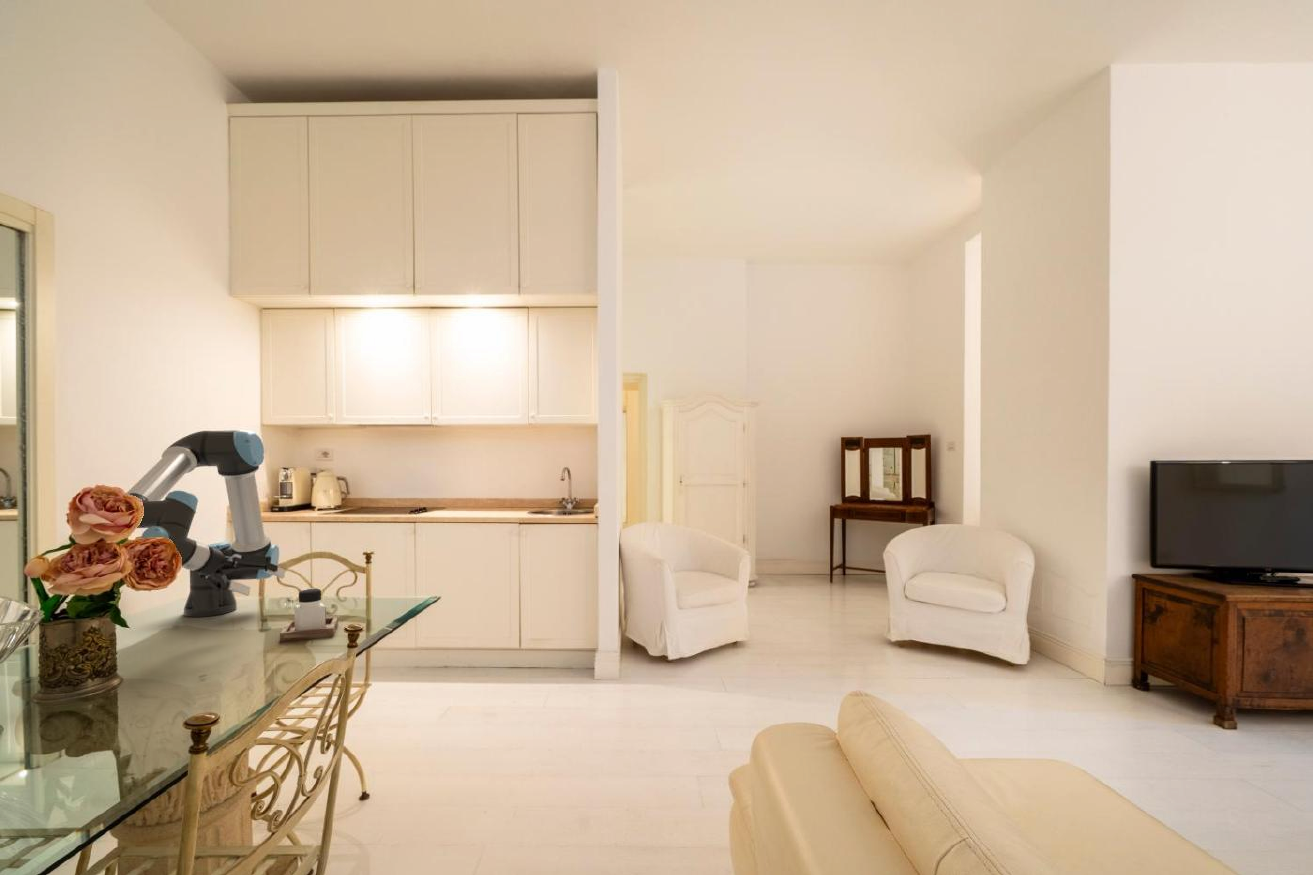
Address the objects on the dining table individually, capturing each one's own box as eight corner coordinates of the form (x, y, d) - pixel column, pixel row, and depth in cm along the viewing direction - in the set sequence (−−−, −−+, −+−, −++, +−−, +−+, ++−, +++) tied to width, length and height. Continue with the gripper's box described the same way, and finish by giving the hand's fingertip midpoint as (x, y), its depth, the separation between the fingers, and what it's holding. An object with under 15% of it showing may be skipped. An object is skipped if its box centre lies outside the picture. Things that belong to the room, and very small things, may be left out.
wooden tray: (288, 629, 204) (288, 621, 204) (338, 624, 209) (338, 616, 209) (280, 642, 191) (279, 633, 191) (333, 636, 196) (333, 628, 196)
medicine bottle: (326, 629, 200) (325, 589, 200) (300, 633, 195) (299, 593, 195) (319, 624, 205) (319, 585, 205) (294, 628, 200) (294, 589, 200)
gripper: (164, 587, 183) (232, 609, 199) (233, 552, 178) (297, 577, 195) (170, 564, 187) (236, 587, 204) (237, 529, 183) (299, 555, 199)
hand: (266, 582), depth 199 cm, fingers open, 13 cm apart
